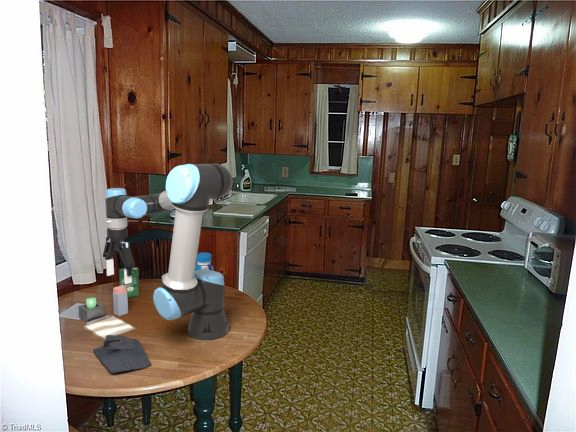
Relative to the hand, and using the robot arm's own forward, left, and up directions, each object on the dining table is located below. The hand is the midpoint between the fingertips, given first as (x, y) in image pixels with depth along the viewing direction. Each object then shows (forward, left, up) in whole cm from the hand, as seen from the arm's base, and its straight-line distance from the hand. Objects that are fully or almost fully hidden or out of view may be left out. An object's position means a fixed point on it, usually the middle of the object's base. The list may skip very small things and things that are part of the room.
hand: (119, 279), depth 172 cm
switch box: (+4, +10, -15) cm, 18 cm away
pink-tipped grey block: (0, 0, -15) cm, 15 cm away
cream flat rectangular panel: (-9, +10, -15) cm, 20 cm away
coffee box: (+14, -12, -15) cm, 23 cm away
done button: (+4, +10, -11) cm, 16 cm away
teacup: (+6, -31, -15) cm, 35 cm away
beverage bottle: (-10, -35, -15) cm, 39 cm away
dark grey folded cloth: (-33, +18, -15) cm, 40 cm away
